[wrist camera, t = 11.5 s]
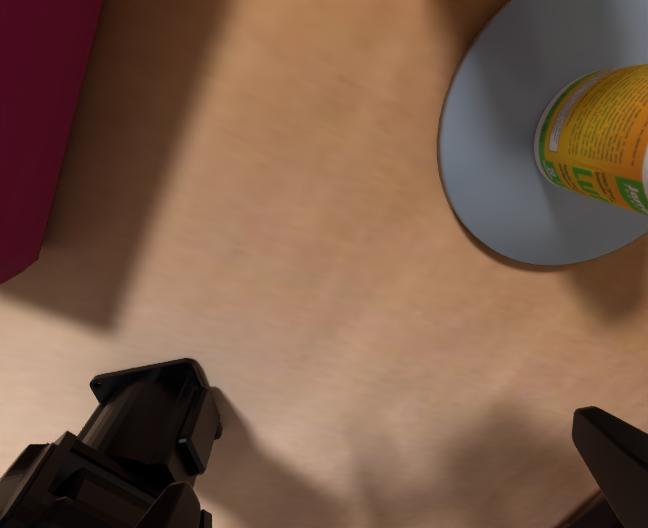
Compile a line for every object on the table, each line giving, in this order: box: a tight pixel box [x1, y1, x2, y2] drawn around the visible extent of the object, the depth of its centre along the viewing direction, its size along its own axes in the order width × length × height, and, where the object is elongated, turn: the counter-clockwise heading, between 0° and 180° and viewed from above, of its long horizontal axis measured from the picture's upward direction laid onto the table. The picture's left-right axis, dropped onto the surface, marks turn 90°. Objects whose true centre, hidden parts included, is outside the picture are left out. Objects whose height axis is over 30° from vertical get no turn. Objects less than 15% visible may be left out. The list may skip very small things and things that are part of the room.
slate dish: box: [437, 0, 648, 265], centre depth 18 cm, size 14×14×1 cm
